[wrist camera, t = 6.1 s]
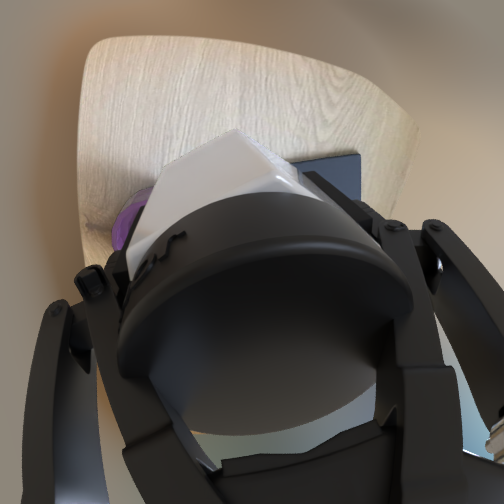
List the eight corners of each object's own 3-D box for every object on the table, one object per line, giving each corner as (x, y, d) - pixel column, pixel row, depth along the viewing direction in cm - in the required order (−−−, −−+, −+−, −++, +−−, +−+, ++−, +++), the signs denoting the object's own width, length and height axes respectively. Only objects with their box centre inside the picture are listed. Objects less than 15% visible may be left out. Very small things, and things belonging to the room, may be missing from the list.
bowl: (110, 197, 31) (98, 214, 27) (188, 175, 32) (186, 189, 28) (137, 264, 37) (131, 286, 33) (207, 247, 38) (209, 269, 33)
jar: (159, 127, 14) (60, 220, 4) (304, 133, 15) (466, 226, 5) (165, 266, 18) (151, 443, 8) (284, 263, 20) (353, 420, 10)
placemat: (271, 166, 33) (272, 167, 33) (358, 153, 34) (360, 154, 33) (284, 271, 42) (285, 273, 41) (357, 253, 43) (358, 255, 42)
